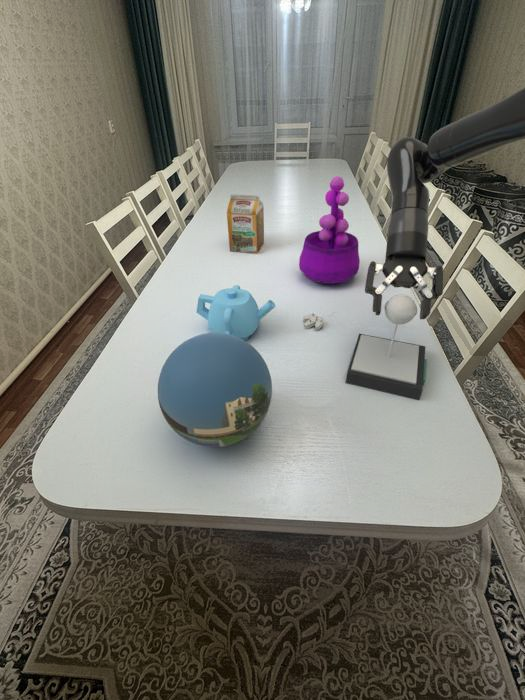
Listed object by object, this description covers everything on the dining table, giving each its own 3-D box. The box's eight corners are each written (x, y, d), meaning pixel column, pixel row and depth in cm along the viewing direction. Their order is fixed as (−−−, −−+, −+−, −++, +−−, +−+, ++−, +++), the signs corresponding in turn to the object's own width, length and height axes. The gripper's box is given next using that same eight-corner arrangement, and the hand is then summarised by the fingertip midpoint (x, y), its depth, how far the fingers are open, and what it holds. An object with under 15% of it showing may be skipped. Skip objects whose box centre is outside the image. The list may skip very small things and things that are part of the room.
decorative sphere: (176, 393, 76) (156, 313, 64) (268, 387, 77) (266, 307, 64) (162, 475, 61) (133, 392, 48) (277, 466, 61) (277, 382, 49)
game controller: (298, 326, 94) (298, 318, 93) (318, 307, 102) (319, 299, 100) (317, 333, 92) (317, 324, 90) (337, 313, 99) (338, 305, 97)
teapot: (191, 348, 88) (184, 307, 81) (206, 311, 101) (201, 273, 94) (272, 352, 86) (272, 310, 79) (277, 314, 99) (277, 275, 92)
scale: (424, 356, 84) (428, 344, 81) (422, 401, 73) (426, 388, 70) (357, 343, 88) (359, 331, 86) (345, 382, 77) (347, 370, 75)
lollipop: (368, 355, 79) (381, 295, 70) (384, 344, 82) (398, 286, 72) (392, 369, 75) (409, 308, 66) (408, 357, 78) (426, 297, 69)
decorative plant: (290, 269, 121) (293, 172, 102) (339, 260, 125) (350, 166, 106) (313, 295, 107) (321, 188, 88) (368, 285, 111) (387, 181, 92)
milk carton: (264, 242, 139) (263, 191, 128) (257, 253, 131) (255, 199, 120) (238, 240, 142) (234, 190, 130) (229, 251, 134) (225, 198, 122)
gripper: (373, 227, 69) (365, 309, 68) (451, 231, 67) (445, 315, 65) (368, 243, 77) (360, 317, 75) (438, 247, 74) (432, 323, 73)
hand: (400, 316), depth 70 cm, fingers open, 8 cm apart
